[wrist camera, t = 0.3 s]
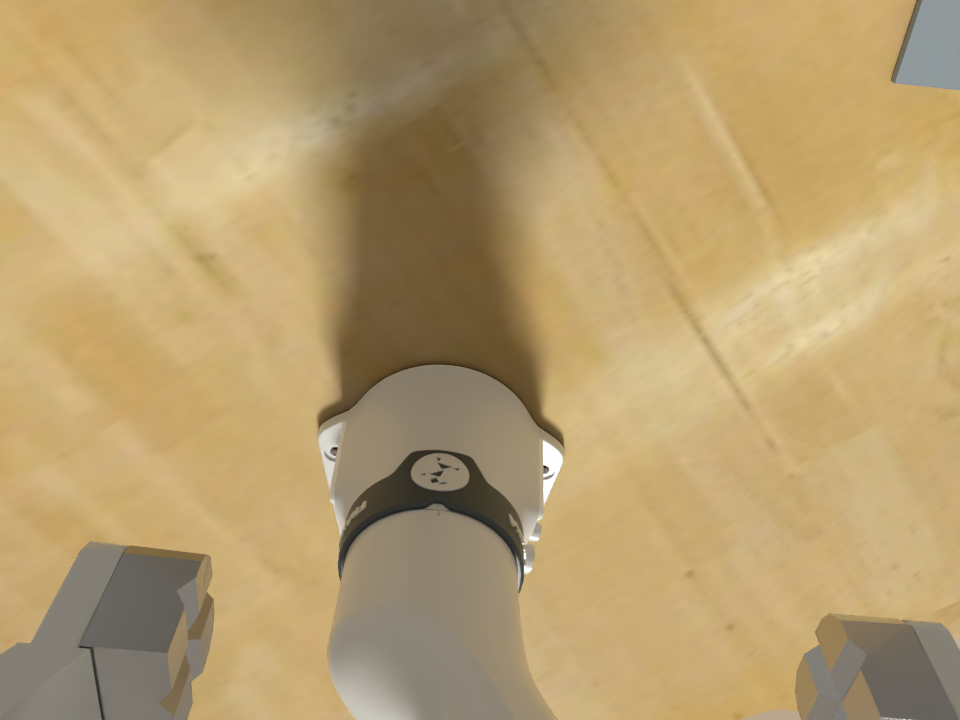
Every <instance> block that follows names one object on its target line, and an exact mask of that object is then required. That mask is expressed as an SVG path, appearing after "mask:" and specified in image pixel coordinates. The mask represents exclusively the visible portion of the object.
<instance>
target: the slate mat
mask: <svg viewBox="0 0 960 720" xmlns="http://www.w3.org/2000/svg"><path fill="white" fill-rule="evenodd" d="M891 81H892V82H894V83H897V84H906V85H916V86H925V87H935V88H944V89H953V90H960V0H918V1H917V4H916V7H915V10H914V13H913V16H912V19H911V22H910V25H909V28H908V31H907V34H906V37H905V40H904V43H903V46H902V49H901V52H900V55H899V58H898V61H897V64H896V67H895V70H894V73H893V76H892V79H891Z"/></svg>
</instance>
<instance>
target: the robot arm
mask: <svg viewBox="0 0 960 720" xmlns="http://www.w3.org/2000/svg"><path fill="white" fill-rule="evenodd" d="M318 445H319V449H320V453H321V457H322V462H323V466H324V470H325V474H326V478H327V483H328V487H329V491H330V494H329V499H330V501H331V502H332V504H333V508H334V512H335V517H336V521H337V525H338V529H339V534H340V543H339V556H338V558H339V560H338V571H339V577H340V581H341V582H340V587H339V592H338V597H337V602H336V607H335V612H334V617H333V622H332V627H331V632H330V637H329V642H328V648H327V660H328V668H329V672H330V676H331V679H332V682H333V684H334V687H335V689H336V691H337V692H338V694H339V696H340V698H341V700H342V701H343V703H344V704H345V706H346V707H347V709H348V710H349V712H350V713H351V715H352V716H353V717H354V718H355V719H356V720H558V719H557V717H556V716H555V715H554V713H553V712H552V710H551V709H550V708H549V706H548V705H547V703H546V701H545V700H544V698H543V697H542V695H541V693H540V692H539V690H538V688H537V686H536V684H535V682H534V680H533V678H532V675H531V672H530V670H529V667H528V664H527V660H526V655H525V650H524V643H523V637H522V629H521V621H520V609H519V592H520V590H521V587H522V584H523V580H524V574H529V573H530V571H531V569H532V566H533V562H534V556H535V547H534V546H533V545H532V544H529V543H528V541H535V542H537V541H538V540H539V538H540V535H541V524H540V523H537V521H538V520H541V519H542V518H543V513H544V505H545V503H546V501H547V498H548V496H549V494H550V492H551V489H552V487H553V485H554V483H555V480H556V478H557V476H558V474H559V471H560V469H561V467H562V465H563V461H564V448H563V446H562V445H561V443H560V442H559V441H558V440H556V439H555V438H554V437H553V436H551V435H550V434H548V433H547V432H545V431H544V430H542V429H541V428H539V427H538V426H537V425H536V423H535V422H534V421H533V419H532V418H531V416H530V414H529V412H528V411H527V409H526V408H525V406H524V405H523V403H522V402H521V401H520V400H519V398H518V397H517V396H516V395H515V394H514V393H513V392H512V391H511V390H510V389H508V388H507V387H506V386H504V385H503V384H502V383H500V382H499V381H497V380H495V379H494V378H492V377H490V376H488V375H486V374H483V373H481V372H478V371H475V370H472V369H468V368H464V367H459V366H452V365H425V366H418V367H413V368H409V369H406V370H403V371H400V372H397V373H395V374H393V375H391V376H389V377H387V378H385V379H383V380H382V381H380V382H379V383H377V384H376V385H375V386H373V387H372V388H371V389H370V390H369V391H368V392H367V393H366V394H365V395H364V396H363V397H362V398H361V399H360V400H359V402H358V403H357V404H356V405H355V406H354V407H353V408H351V409H350V410H349V411H346V412H344V413H341V414H339V415H337V416H335V417H333V418H331V419H329V420H327V421H325V422H324V423H323V424H322V425H321V426H320V428H319V431H318ZM333 447H338V449H337V450H334V449H333ZM543 465H546V466H548V467H547V468H543ZM211 578H212V566H211V557H210V556H208V555H206V554H197V553H189V552H181V551H173V550H164V549H156V548H148V547H139V546H131V545H130V546H126V545H117V544H109V543H101V542H92V541H90V542H89V543H88V544H87V545H86V546H85V547H84V548H83V549H82V550H81V551H80V552H79V554H78V556H77V558H76V560H75V562H74V563H73V565H72V567H71V569H70V571H69V573H68V575H67V576H66V578H65V580H64V582H63V584H62V586H61V588H60V589H59V591H58V593H57V595H56V597H55V599H54V601H53V603H52V604H51V606H50V608H49V610H48V612H47V614H46V616H45V617H44V619H43V621H42V623H41V625H40V627H39V629H38V630H37V632H36V634H35V636H34V638H33V640H32V642H31V643H19V642H18V643H17V644H15V645H14V646H12V647H11V648H9V649H8V650H6V651H5V652H3V653H2V654H0V720H187V718H188V715H189V712H190V709H191V706H192V703H193V701H192V686H191V681H192V680H194V679H195V678H196V677H197V676H199V675H200V674H201V673H202V672H203V669H204V666H205V662H206V659H207V656H208V653H209V647H210V642H211V637H212V632H213V622H214V599H213V598H212V597H211V596H210V595H209V594H208V593H207V589H208V587H209V584H210V581H211ZM815 633H816V636H817V639H818V641H819V644H820V645H818V646H817V647H815V648H813V649H812V650H810V651H809V652H807V653H805V654H804V656H803V658H802V660H801V663H800V665H799V667H798V670H797V676H796V688H795V694H796V701H797V708H798V711H799V714H800V717H801V720H960V650H959V648H958V646H957V644H956V643H955V641H954V639H953V637H952V635H951V633H950V632H949V630H948V629H947V628H945V627H944V626H943V625H942V624H941V623H933V622H922V621H911V620H898V619H890V618H879V617H867V616H855V615H843V614H831V613H829V614H828V615H827V616H825V617H824V618H823V619H821V621H820V623H819V625H818V627H817V629H816V631H815Z"/></svg>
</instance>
